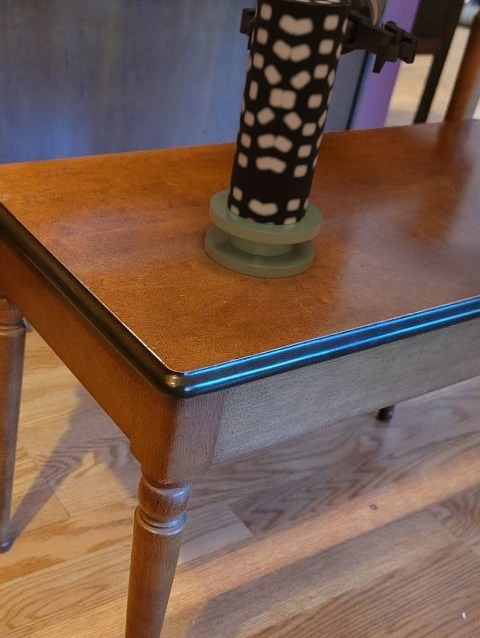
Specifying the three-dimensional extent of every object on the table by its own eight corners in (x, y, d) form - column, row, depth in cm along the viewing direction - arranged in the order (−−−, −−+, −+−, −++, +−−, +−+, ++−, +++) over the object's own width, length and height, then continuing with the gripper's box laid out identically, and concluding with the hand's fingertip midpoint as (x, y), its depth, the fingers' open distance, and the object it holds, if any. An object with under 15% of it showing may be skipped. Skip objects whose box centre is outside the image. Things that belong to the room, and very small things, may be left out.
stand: (327, 249, 84) (338, 207, 81) (287, 289, 75) (297, 244, 72) (232, 219, 88) (239, 178, 85) (184, 254, 79) (189, 210, 76)
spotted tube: (257, 229, 74) (297, 5, 62) (212, 197, 79) (240, -14, 67) (321, 219, 78) (370, 6, 65) (273, 189, 83) (311, -13, 71)
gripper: (434, 67, 94) (423, 107, 78) (245, 33, 99) (198, 64, 83) (453, 0, 89) (446, 28, 73) (254, -31, 94) (206, -12, 78)
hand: (314, 47), depth 78 cm, fingers open, 13 cm apart
